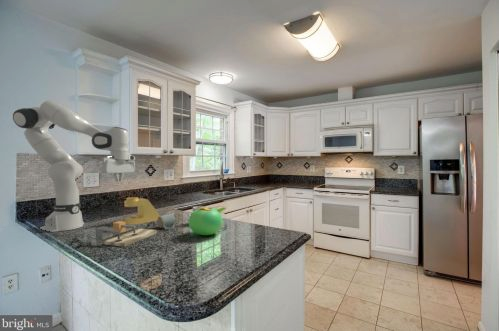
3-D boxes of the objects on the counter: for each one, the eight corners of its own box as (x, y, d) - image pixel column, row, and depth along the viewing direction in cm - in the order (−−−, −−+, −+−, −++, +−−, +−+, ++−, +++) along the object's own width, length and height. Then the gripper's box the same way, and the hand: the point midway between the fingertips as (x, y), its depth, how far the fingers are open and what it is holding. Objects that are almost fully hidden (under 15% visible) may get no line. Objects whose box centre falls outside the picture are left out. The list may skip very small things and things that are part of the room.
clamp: (127, 225, 146) (127, 199, 146) (122, 223, 153) (122, 197, 153) (159, 220, 161) (159, 195, 160) (153, 217, 167) (153, 194, 167)
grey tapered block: (90, 245, 112) (89, 230, 112) (132, 230, 137) (132, 217, 137) (110, 247, 108) (110, 232, 108) (150, 231, 133) (150, 219, 133)
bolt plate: (104, 244, 113) (104, 240, 113) (138, 231, 134) (138, 228, 134) (124, 246, 110) (124, 243, 110) (157, 232, 131) (156, 229, 131)
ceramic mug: (156, 227, 142) (156, 214, 142) (170, 224, 148) (169, 212, 147) (164, 231, 134) (164, 217, 134) (178, 228, 140) (177, 215, 139)
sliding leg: (113, 232, 124) (112, 222, 124) (119, 230, 128) (119, 221, 128) (132, 234, 121) (131, 224, 120) (138, 232, 124) (137, 222, 124)
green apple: (182, 235, 125) (181, 207, 125) (204, 228, 140) (204, 202, 139) (209, 241, 116) (208, 210, 116) (230, 232, 130) (229, 205, 130)
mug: (196, 226, 142) (196, 209, 142) (186, 225, 147) (186, 208, 146) (209, 222, 152) (209, 206, 152) (199, 221, 156) (199, 205, 156)
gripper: (108, 155, 124) (107, 182, 125) (137, 157, 144) (136, 180, 144) (98, 155, 126) (97, 182, 126) (128, 156, 146) (127, 179, 146)
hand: (118, 181), depth 135 cm, fingers closed
